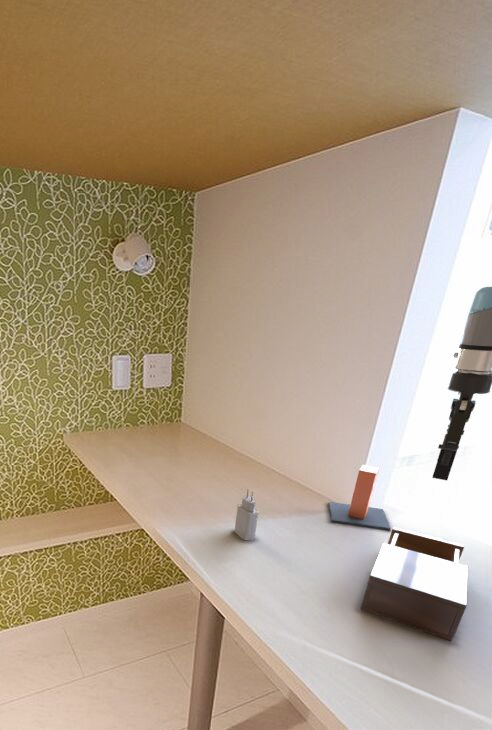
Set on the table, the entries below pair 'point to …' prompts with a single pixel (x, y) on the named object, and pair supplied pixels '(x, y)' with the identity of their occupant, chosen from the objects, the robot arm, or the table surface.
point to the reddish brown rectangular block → (363, 491)
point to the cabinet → (417, 590)
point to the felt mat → (372, 519)
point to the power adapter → (246, 518)
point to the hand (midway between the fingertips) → (441, 469)
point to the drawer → (426, 544)
